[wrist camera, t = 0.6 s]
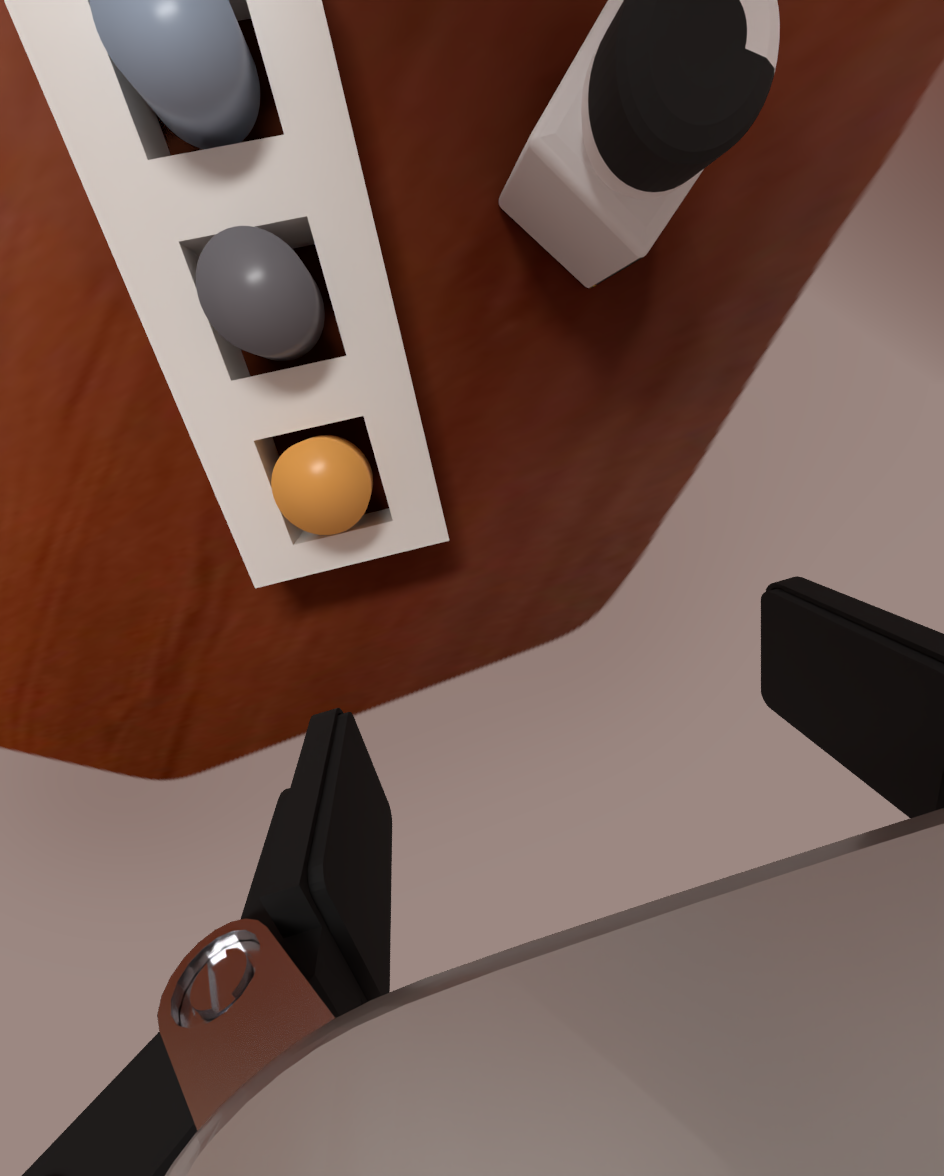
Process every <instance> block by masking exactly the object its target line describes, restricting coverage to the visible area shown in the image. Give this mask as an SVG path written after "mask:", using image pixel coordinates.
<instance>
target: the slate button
mask: <svg viewBox="0 0 944 1176" xmlns="http://www.w3.org/2000/svg"><path fill="white" fill-rule="evenodd" d="M90 8H91V12H92V16H93V20H94V23H95V26H96V29H97V32H98V34H99V37H100V39H101V41H102V43H103V45H104V47H105V49H106V51H107V53H108V54H109V56H110V57H111V59H112V60H113V62H114V63H115V65H116V66H117V67H118V69H119V70H120V71H121V72H122V74H123V75H124V76H125V77H126V78H127V80H128V81H129V82H130V83H131V84H132V86H133V87H134V88H135V89H136V90H137V92H138V93H139V94H140V95H141V96H142V98H143V99H144V100H145V101H146V102H147V104H148V105H149V106H150V107H151V108H152V110H153V111H154V112H155V113H156V114H157V116H158V117H159V118H160V119H161V120H162V122H163V123H164V124H165V125H166V126H167V127H168V128H169V129H170V130H171V131H172V132H173V133H174V134H175V135H177V136H178V137H179V138H181V139H182V140H184V141H185V142H187V143H189V144H191V145H193V146H195V147H198V148H201V149H210V148H215V147H220V146H226V145H231V144H236V143H240V142H241V141H243V140H244V139H245V138H246V137H247V136H248V134H249V133H250V131H251V130H252V128H253V126H254V124H255V122H256V119H257V116H258V112H259V107H260V85H259V78H258V74H257V69H256V66H255V63H254V60H253V58H252V55H251V53H250V51H249V48H248V46H247V43H246V41H245V39H244V36H243V34H242V31H241V29H240V27H239V24H238V22H237V19H236V17H235V15H234V12H233V10H232V7H231V5H230V3H229V0H90Z"/></svg>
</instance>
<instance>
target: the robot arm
mask: <svg viewBox="0 0 944 1176" xmlns="http://www.w3.org/2000/svg"><path fill="white" fill-rule="evenodd" d="M761 694H762V697H763V699H764V701H765V703H766V704H767V706H768V707H769V708H771V709H772V710H773V711H774V712H776V713H777V714H778V715H779V716H781V717H782V718H783V719H785V720H786V721H787V722H788V723H790V724H791V725H792V726H793V727H795V728H796V729H797V730H799V731H800V732H801V733H803V734H804V735H805V736H806V737H807V738H809V739H810V740H811V741H813V742H814V743H815V744H816V745H818V746H819V747H820V748H821V749H823V750H824V751H825V752H827V753H828V754H829V755H830V756H832V757H833V758H834V759H835V760H837V761H838V762H839V763H841V764H842V765H843V766H844V767H846V768H847V769H848V770H850V771H851V772H852V773H853V774H855V775H856V776H857V777H859V778H860V779H861V780H862V781H864V782H865V783H866V784H867V785H869V786H870V787H871V788H872V789H874V790H875V791H876V792H878V793H879V794H880V795H881V796H883V797H884V798H885V799H886V800H888V801H889V802H890V803H892V804H893V805H894V806H895V807H897V808H898V809H899V810H901V811H902V812H903V813H904V814H906V815H907V816H908V817H909V818H911V819H908V820H904V821H901V822H898V823H895V824H892V825H889V826H885V827H882V828H879V829H876V830H873V831H869V832H866V833H863V834H860V835H857V836H854V837H850V838H847V839H844V840H841V841H838V842H835V843H832V844H829V845H825V846H822V847H819V848H816V849H813V850H810V851H807V852H804V853H801V854H797V855H795V856H791V857H788V858H785V859H782V860H779V861H776V862H773V863H770V864H767V865H763V866H760V867H757V868H754V869H751V870H748V871H745V872H742V873H738V874H735V875H732V876H729V877H726V878H723V879H720V880H717V881H714V882H711V883H707V884H705V885H701V886H698V887H695V888H692V889H689V890H686V891H683V892H680V893H677V894H673V895H670V896H667V897H664V898H661V899H659V900H655V901H652V902H649V903H646V904H643V905H640V906H637V907H634V908H631V909H628V910H625V911H622V912H619V913H616V914H613V915H610V916H607V917H604V918H601V919H597V920H595V921H592V922H588V923H585V924H582V925H579V926H576V927H573V928H570V929H567V930H565V931H561V932H558V933H555V934H552V935H549V936H546V937H543V938H540V939H537V940H534V941H531V942H528V943H525V944H522V945H519V946H516V947H513V948H510V949H507V950H505V951H502V952H499V953H496V954H493V955H491V956H487V957H485V958H482V959H479V960H476V961H473V962H471V963H468V964H465V965H462V966H459V967H456V968H453V969H450V970H447V971H444V972H442V973H439V974H436V975H433V976H430V977H427V978H425V979H422V980H420V981H417V982H415V983H412V984H410V985H407V986H405V987H402V988H400V989H397V990H395V991H393V992H390V993H389V989H390V927H391V926H390V925H391V861H392V817H391V816H392V815H391V810H390V806H389V803H388V801H387V798H386V796H385V793H384V791H383V788H382V786H381V783H380V781H379V779H378V776H377V773H376V771H375V768H374V766H373V763H372V761H371V758H370V756H369V754H368V751H367V749H366V746H365V744H364V741H363V739H362V736H361V734H360V731H359V729H358V727H357V724H356V721H355V719H354V717H353V715H352V713H351V712H347V713H343V712H342V710H341V709H340V708H336V709H333V710H329V711H326V712H322V713H319V714H315V715H313V716H312V717H311V719H310V722H309V726H308V729H307V733H306V736H305V739H304V743H303V746H302V750H301V754H300V757H299V760H298V764H297V767H296V770H295V774H294V778H293V781H292V784H291V788H289V789H285V790H284V791H283V792H282V793H281V795H280V797H279V799H278V802H277V805H276V808H275V811H274V815H273V818H272V821H271V824H270V827H269V830H268V834H267V837H266V840H265V843H264V847H263V850H262V853H261V856H260V859H259V862H258V866H257V869H256V872H255V875H254V878H253V881H252V885H251V888H250V891H249V894H248V897H247V901H246V904H245V907H244V910H243V913H242V916H241V920H237V921H233V922H230V923H228V924H226V925H224V926H222V927H220V928H218V929H216V930H214V931H213V932H212V933H210V934H209V935H208V936H206V937H205V938H204V939H203V940H201V941H200V942H199V943H198V944H197V945H196V946H195V947H194V948H193V949H192V950H191V951H190V952H189V953H188V954H187V955H186V956H185V957H184V959H183V960H182V961H181V963H180V964H179V966H178V967H177V968H176V970H175V971H174V973H173V974H172V975H171V977H170V979H169V981H168V983H167V986H166V988H165V990H164V992H163V994H162V996H161V1000H160V1005H159V1009H158V1014H157V1017H158V1025H159V1031H160V1032H159V1033H158V1034H157V1035H156V1036H155V1037H154V1038H153V1039H152V1040H151V1041H150V1042H149V1043H148V1044H147V1045H146V1046H145V1047H144V1048H143V1049H142V1050H141V1051H140V1052H139V1054H137V1056H136V1057H135V1058H134V1059H133V1060H132V1061H131V1062H130V1063H129V1064H128V1065H127V1066H126V1067H125V1068H124V1069H123V1070H122V1071H121V1072H120V1073H119V1075H118V1076H117V1077H116V1078H115V1079H114V1080H113V1081H112V1082H111V1083H110V1084H109V1085H108V1086H107V1087H106V1088H105V1089H104V1090H103V1091H102V1092H101V1093H100V1095H98V1096H97V1097H96V1099H95V1100H94V1101H93V1102H92V1103H91V1104H90V1105H89V1106H88V1107H87V1108H86V1109H85V1110H84V1111H83V1112H82V1113H81V1114H80V1115H79V1116H78V1117H77V1118H76V1120H75V1121H74V1122H73V1123H72V1124H71V1125H70V1126H69V1127H68V1128H67V1129H66V1130H65V1131H64V1132H63V1133H62V1134H61V1135H60V1136H59V1137H58V1138H57V1139H56V1140H55V1141H54V1143H52V1145H51V1146H50V1147H49V1148H48V1149H47V1150H46V1151H45V1152H44V1153H43V1154H42V1155H41V1156H40V1157H39V1158H38V1159H37V1160H36V1161H35V1162H34V1163H33V1165H31V1167H30V1168H29V1169H28V1170H27V1171H26V1172H25V1173H24V1174H23V1175H22V1176H944V634H943V633H940V632H938V631H935V630H933V629H930V628H928V627H925V626H923V625H920V624H917V623H915V622H913V621H910V620H907V619H905V618H902V617H900V616H897V615H895V614H892V613H890V612H887V611H885V610H882V609H880V608H877V607H875V606H872V605H870V604H867V603H865V602H862V601H859V600H857V599H855V598H852V597H850V596H847V595H845V594H842V593H839V592H837V591H835V590H832V589H830V588H827V587H825V586H822V585H819V584H817V583H814V582H812V581H809V580H807V579H805V578H802V577H792V578H789V579H786V580H782V581H779V582H775V583H772V584H770V585H769V586H768V587H767V589H766V592H765V593H764V594H763V595H762V597H761Z"/></svg>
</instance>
